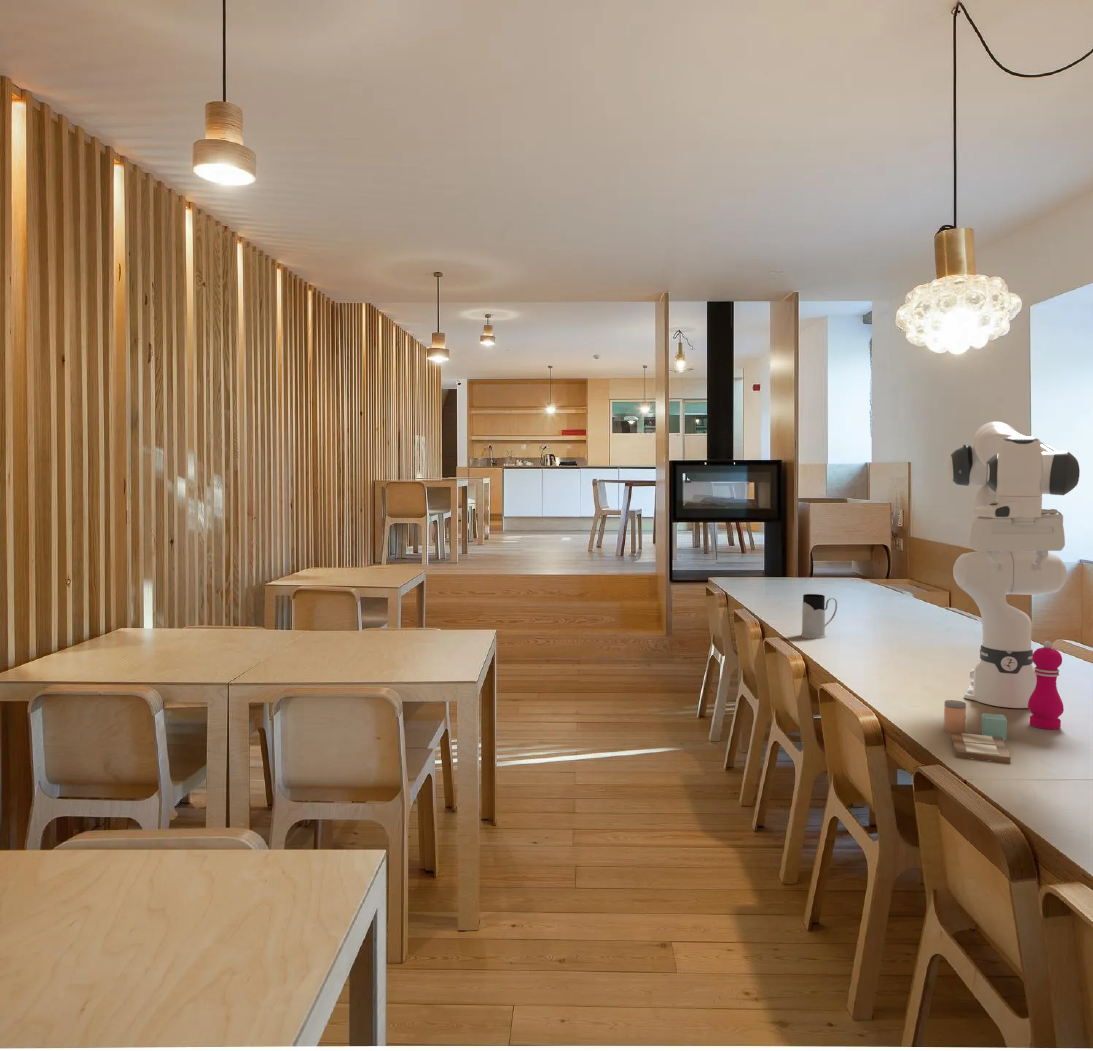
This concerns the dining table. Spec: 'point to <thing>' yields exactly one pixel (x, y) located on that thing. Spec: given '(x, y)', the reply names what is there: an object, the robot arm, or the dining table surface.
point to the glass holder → (814, 616)
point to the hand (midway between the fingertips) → (1016, 571)
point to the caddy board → (980, 747)
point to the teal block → (994, 725)
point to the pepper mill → (1046, 689)
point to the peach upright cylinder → (954, 716)
